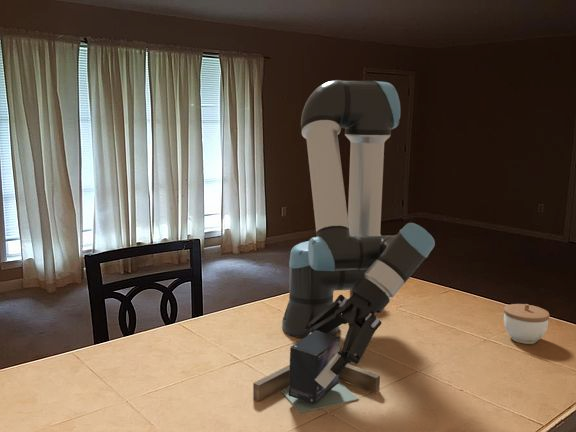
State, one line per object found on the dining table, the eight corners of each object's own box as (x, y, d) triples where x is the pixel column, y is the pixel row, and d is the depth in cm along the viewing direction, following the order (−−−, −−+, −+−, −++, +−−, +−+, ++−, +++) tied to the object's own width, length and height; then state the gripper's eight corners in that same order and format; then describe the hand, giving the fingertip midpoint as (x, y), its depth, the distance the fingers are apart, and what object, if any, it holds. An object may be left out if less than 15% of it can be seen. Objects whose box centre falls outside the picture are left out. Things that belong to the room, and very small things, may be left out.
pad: (281, 391, 114) (281, 390, 114) (336, 380, 119) (336, 379, 119) (299, 413, 106) (299, 411, 106) (358, 400, 111) (358, 398, 111)
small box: (316, 406, 106) (317, 355, 104) (287, 396, 109) (288, 346, 107) (340, 383, 115) (342, 335, 113) (312, 375, 118) (314, 329, 116)
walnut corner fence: (253, 399, 111) (253, 382, 110) (315, 366, 126) (315, 351, 125) (320, 431, 100) (320, 413, 100) (379, 391, 115) (380, 375, 114)
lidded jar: (509, 328, 150) (512, 295, 149) (551, 338, 144) (555, 304, 142) (495, 340, 142) (498, 305, 141) (539, 351, 136) (543, 315, 134)
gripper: (421, 316, 105) (347, 409, 102) (358, 282, 126) (295, 358, 122) (399, 293, 102) (322, 388, 99) (338, 262, 123) (273, 339, 119)
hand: (307, 371), depth 111 cm, fingers closed on small box, 10 cm apart
